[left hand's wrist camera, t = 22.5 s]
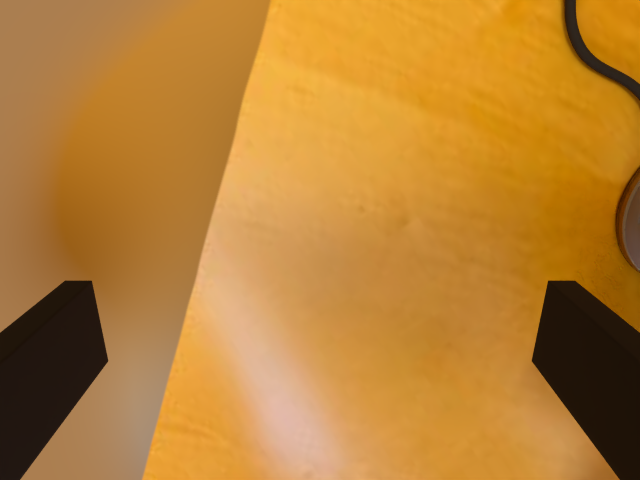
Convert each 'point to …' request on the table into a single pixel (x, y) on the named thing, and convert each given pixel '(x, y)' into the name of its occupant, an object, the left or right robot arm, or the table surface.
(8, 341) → the left robot arm
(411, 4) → the table surface
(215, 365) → the table surface
